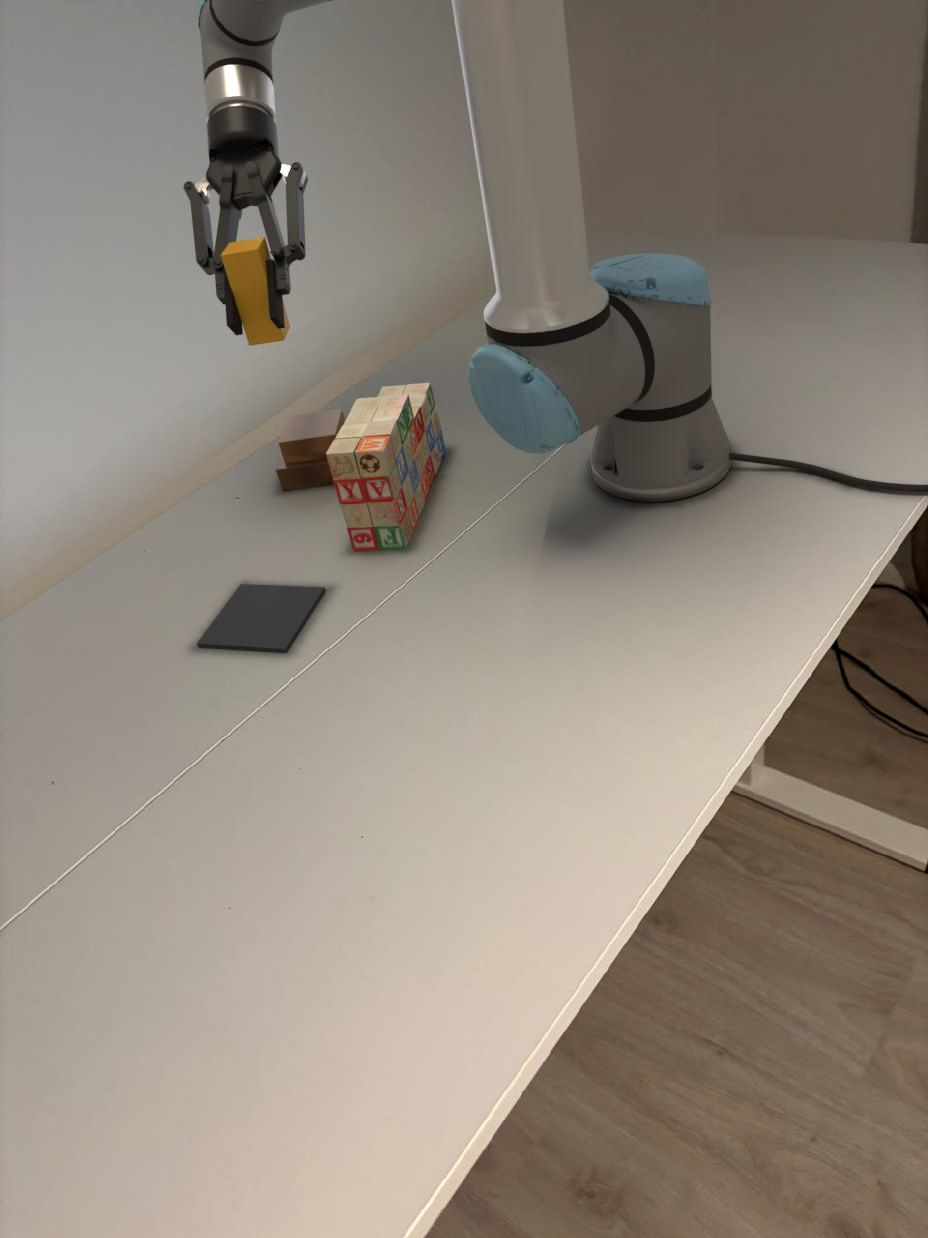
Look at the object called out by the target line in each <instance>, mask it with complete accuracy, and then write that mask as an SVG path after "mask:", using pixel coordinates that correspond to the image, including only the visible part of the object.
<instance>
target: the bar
mask: <svg viewBox="0 0 928 1238" xmlns="http://www.w3.org/2000/svg"><path fill="white" fill-rule="evenodd" d="M221 258H222V261H223V264H224V267H225V270H226V273H227V277H228V280H229V283H230V286H231V289H232V292H233V296H234V299H235V302H236V305H237V308H238V311H239V315H240V318H241V321H242V328H243V330H244V331H243V332H244V333H245V334H244V335H245V337H246V340H247V343H248V346H250V347H251V346H258V345H264V344H270V343H271V344H272V343H276V342H283V341H285V339H286V337H287V335H288V332H289V330H290V328H291V324H290V320H289V317H288V313H287V310H286V307H285V303H284V302H283V309H284V322H285V328H280V329H278V328H277V327H276V326H275V324H274V323H273V322H272V321H271V319H270V315H269V302H268V288H267V271H266V260H269V259H272V258H271V253H270V250H269V247H268V244H267V240H266V237H265V236H262V237H261V236H260V237H255V238H250V239H244V240H238V241H237V240H236V242H231V243H229V244H228V245H227V247H226V248H225V250H224V251H223V253H222V254H221Z"/></svg>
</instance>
